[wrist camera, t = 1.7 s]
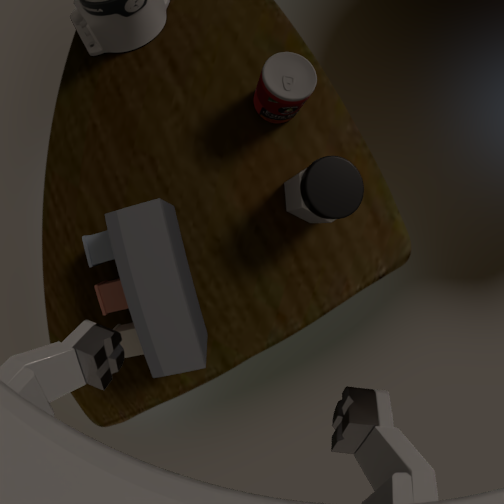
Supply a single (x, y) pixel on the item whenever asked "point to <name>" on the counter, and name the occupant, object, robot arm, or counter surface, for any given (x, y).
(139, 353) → the ivory key
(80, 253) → the counter surface
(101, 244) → the blue-grey key
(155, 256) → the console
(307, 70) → the canned food
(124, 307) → the brick key
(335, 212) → the jar
